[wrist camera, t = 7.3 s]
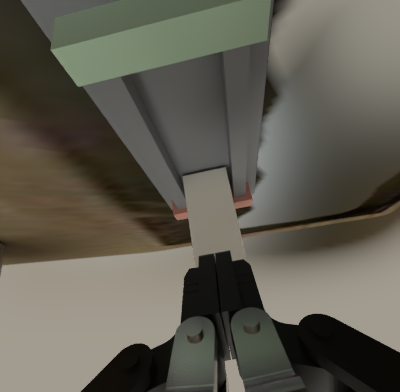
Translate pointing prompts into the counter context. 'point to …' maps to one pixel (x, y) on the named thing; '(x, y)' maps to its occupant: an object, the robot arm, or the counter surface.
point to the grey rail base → (171, 81)
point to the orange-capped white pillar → (212, 215)
